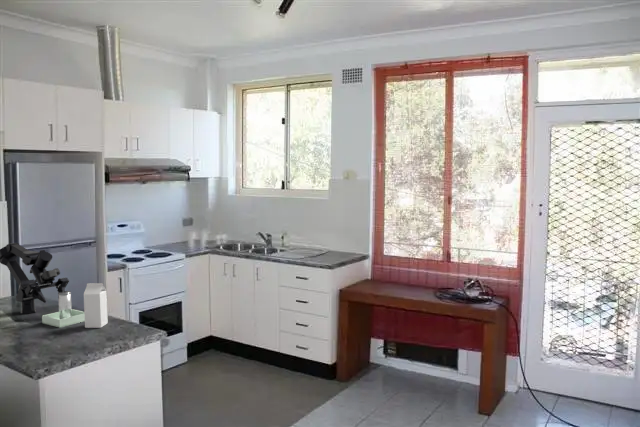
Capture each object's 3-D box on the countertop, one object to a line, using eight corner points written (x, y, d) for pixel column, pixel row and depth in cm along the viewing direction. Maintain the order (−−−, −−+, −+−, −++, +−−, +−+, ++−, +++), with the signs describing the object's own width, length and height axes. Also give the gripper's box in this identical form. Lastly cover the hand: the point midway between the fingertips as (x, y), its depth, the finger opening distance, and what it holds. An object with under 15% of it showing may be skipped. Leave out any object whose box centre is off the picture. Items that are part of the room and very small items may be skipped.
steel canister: (57, 320, 245) (56, 292, 244) (69, 318, 249) (67, 290, 248) (62, 322, 241) (61, 294, 240) (74, 320, 245) (72, 292, 244)
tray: (42, 323, 243) (42, 315, 243) (71, 316, 254) (71, 308, 254) (59, 327, 235) (59, 319, 235) (89, 320, 247) (88, 312, 247)
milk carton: (101, 328, 234) (99, 285, 233) (84, 328, 234) (83, 285, 233) (107, 323, 241) (106, 281, 240) (92, 323, 241) (90, 281, 240)
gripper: (27, 266, 242) (41, 293, 237) (66, 260, 258) (80, 285, 253) (18, 281, 247) (32, 308, 242) (57, 275, 263) (71, 300, 258)
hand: (55, 300), depth 249 cm, fingers open, 9 cm apart
